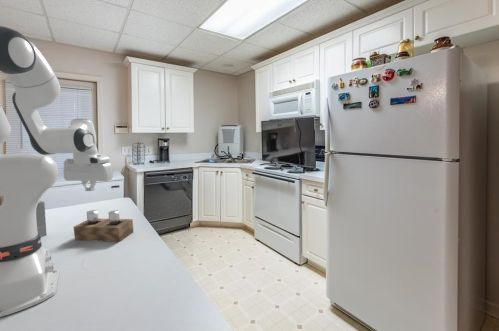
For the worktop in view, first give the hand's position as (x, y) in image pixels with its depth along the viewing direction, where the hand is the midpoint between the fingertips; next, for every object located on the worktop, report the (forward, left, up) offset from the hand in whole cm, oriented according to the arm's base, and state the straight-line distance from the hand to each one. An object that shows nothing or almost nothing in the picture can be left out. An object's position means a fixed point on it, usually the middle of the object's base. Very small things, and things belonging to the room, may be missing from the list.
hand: (90, 190), depth 108 cm
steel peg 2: (-8, -6, -15) cm, 18 cm away
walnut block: (-4, -3, -20) cm, 21 cm away
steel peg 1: (0, 0, -15) cm, 15 cm away
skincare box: (+19, +19, -20) cm, 34 cm away
